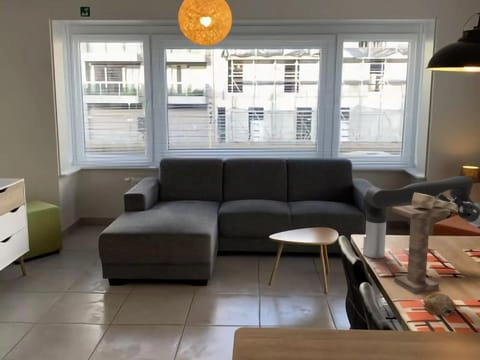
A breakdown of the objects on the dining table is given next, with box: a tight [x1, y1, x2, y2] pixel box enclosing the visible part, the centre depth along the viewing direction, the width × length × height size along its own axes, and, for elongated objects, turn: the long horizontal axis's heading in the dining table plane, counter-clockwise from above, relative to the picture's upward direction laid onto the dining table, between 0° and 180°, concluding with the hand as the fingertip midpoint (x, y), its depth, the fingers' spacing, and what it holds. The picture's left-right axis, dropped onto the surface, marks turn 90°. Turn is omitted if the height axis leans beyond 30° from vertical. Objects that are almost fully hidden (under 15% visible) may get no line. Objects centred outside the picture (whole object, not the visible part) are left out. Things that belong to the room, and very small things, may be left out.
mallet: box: [410, 192, 460, 211], centre depth 189 cm, size 24×5×5 cm, turn 111°
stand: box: [391, 204, 451, 294], centre depth 189 cm, size 18×12×32 cm, turn 109°
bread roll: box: [422, 292, 456, 317], centre depth 169 cm, size 10×10×8 cm
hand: (446, 197), depth 189 cm, fingers open, 8 cm apart
